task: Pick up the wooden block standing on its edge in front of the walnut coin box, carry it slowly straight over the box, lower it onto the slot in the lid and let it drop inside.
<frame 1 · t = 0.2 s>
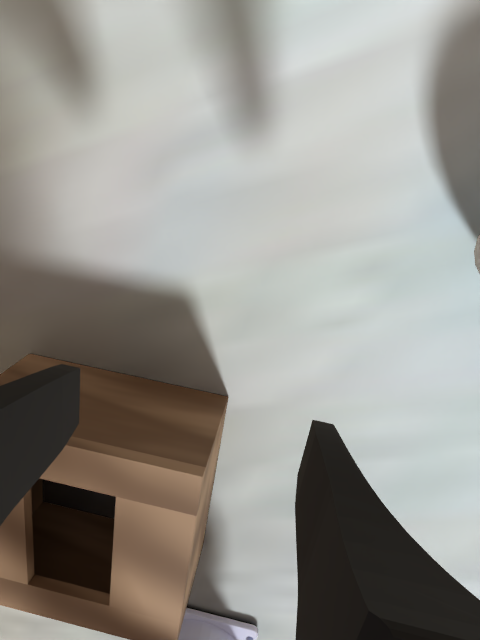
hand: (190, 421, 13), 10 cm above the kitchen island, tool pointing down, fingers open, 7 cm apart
coin box: (121, 456, 27), on the kitchen island
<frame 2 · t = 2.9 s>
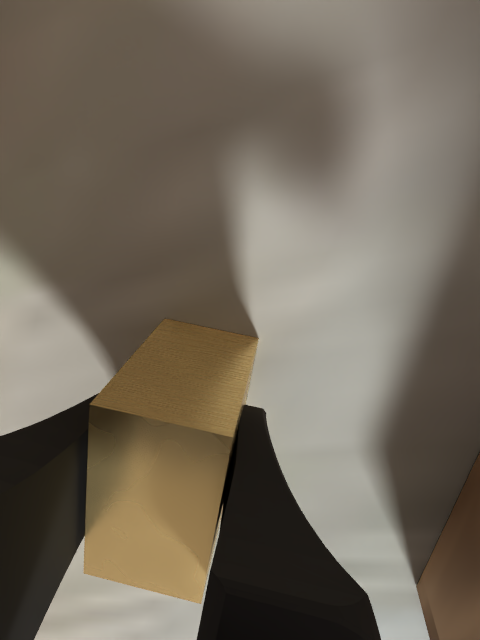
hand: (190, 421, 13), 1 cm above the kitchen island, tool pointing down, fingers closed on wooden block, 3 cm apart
wooden block: (201, 396, 14), on the kitchen island, touching gripper
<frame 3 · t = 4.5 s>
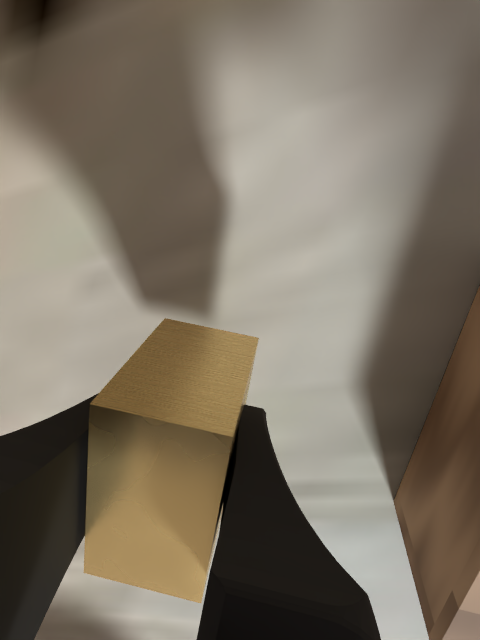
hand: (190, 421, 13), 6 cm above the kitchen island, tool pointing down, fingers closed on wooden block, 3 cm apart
wooden block: (201, 395, 14), point 4 cm above the kitchen island, touching gripper
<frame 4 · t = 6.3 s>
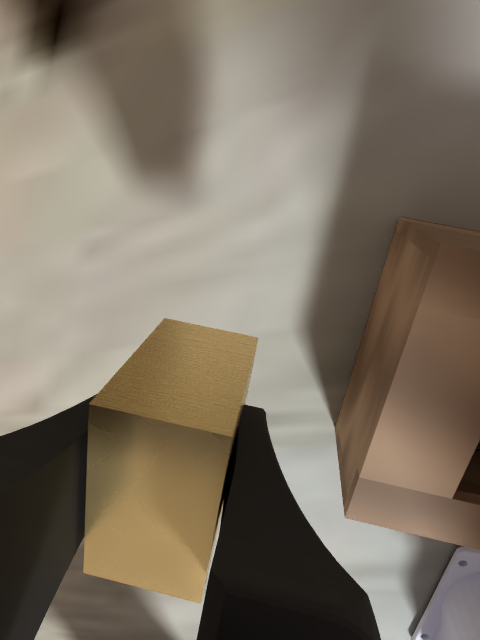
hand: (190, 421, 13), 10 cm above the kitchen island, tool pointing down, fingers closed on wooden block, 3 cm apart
wooden block: (200, 395, 14), point 9 cm above the kitchen island, touching gripper
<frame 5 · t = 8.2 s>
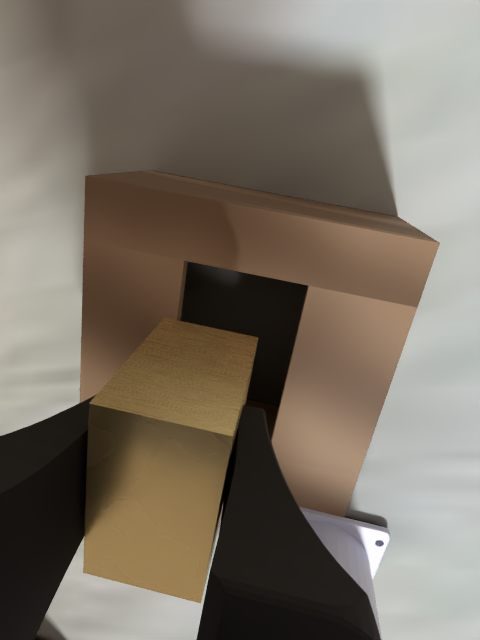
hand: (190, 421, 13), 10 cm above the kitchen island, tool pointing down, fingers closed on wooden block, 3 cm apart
wooden block: (201, 395, 14), point 9 cm above the kitchen island, touching gripper
coin box: (249, 309, 22), on the kitchen island
when the fingers open (8 cm above the kitchen island, at t = 9.8 s): wooden block drops 7 cm, resting in coin box.
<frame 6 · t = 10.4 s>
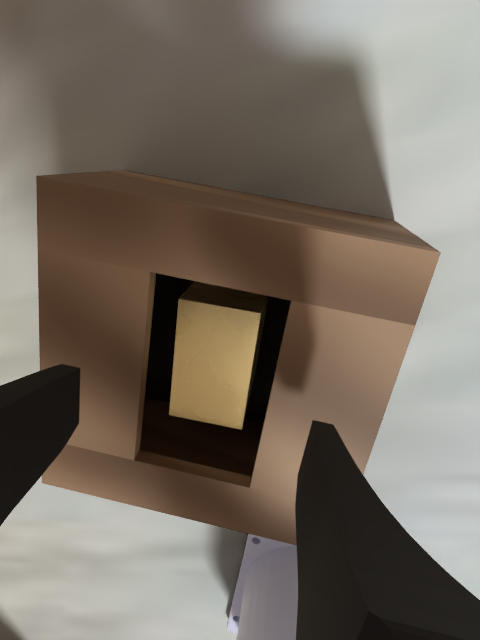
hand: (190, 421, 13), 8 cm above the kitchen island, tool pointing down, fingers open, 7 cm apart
wooden block: (232, 320, 21), resting in coin box
coin box: (233, 321, 20), on the kitchen island
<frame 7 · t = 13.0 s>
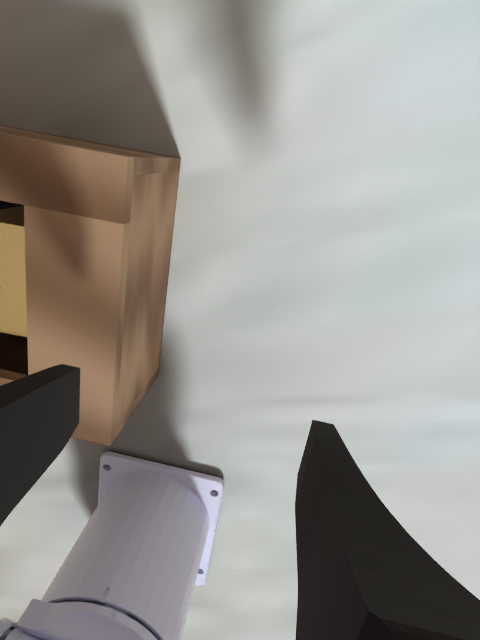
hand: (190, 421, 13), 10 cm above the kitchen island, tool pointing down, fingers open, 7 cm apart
wooden block: (60, 255, 23), resting in coin box
coin box: (60, 256, 23), on the kitchen island
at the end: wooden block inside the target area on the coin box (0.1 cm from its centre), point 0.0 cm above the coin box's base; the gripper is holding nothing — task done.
